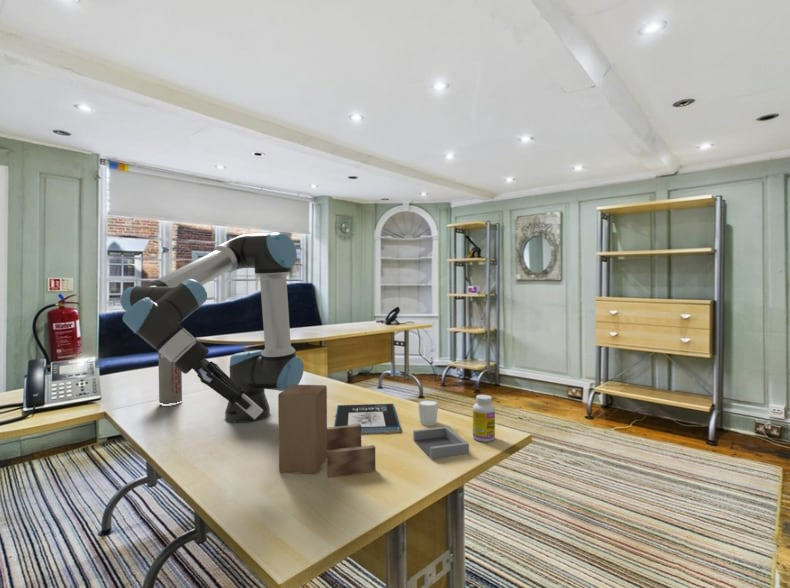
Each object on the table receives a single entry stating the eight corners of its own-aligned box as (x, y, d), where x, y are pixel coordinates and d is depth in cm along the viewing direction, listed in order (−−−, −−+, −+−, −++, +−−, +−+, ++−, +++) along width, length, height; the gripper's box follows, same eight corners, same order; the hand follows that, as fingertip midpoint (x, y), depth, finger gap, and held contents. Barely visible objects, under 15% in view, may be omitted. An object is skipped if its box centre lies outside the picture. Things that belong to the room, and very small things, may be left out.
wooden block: (327, 457, 111) (327, 384, 111) (317, 474, 101) (316, 394, 101) (292, 456, 112) (291, 384, 112) (278, 472, 102) (277, 393, 102)
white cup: (442, 422, 139) (442, 402, 139) (430, 428, 134) (429, 407, 134) (426, 418, 144) (426, 398, 143) (414, 423, 139) (414, 402, 138)
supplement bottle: (488, 444, 120) (488, 401, 120) (468, 438, 125) (468, 397, 124) (498, 438, 125) (499, 396, 125) (479, 432, 129) (479, 392, 129)
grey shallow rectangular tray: (431, 459, 110) (431, 448, 110) (413, 440, 124) (413, 430, 123) (468, 454, 113) (468, 443, 113) (447, 435, 127) (447, 426, 127)
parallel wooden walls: (327, 477, 100) (327, 453, 100) (319, 449, 117) (319, 428, 117) (375, 470, 103) (375, 447, 103) (360, 444, 121) (360, 424, 120)
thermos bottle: (186, 402, 163) (185, 333, 163) (166, 407, 157) (165, 335, 156) (175, 399, 168) (173, 331, 167) (155, 404, 161) (153, 333, 160)
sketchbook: (393, 407, 159) (393, 401, 159) (401, 435, 130) (401, 428, 130) (337, 408, 157) (337, 402, 157) (333, 437, 128) (333, 430, 128)
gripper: (178, 358, 104) (249, 418, 109) (166, 368, 91) (246, 435, 96) (201, 337, 105) (269, 396, 110) (192, 344, 93) (269, 410, 98)
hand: (258, 414), depth 103 cm, fingers closed
